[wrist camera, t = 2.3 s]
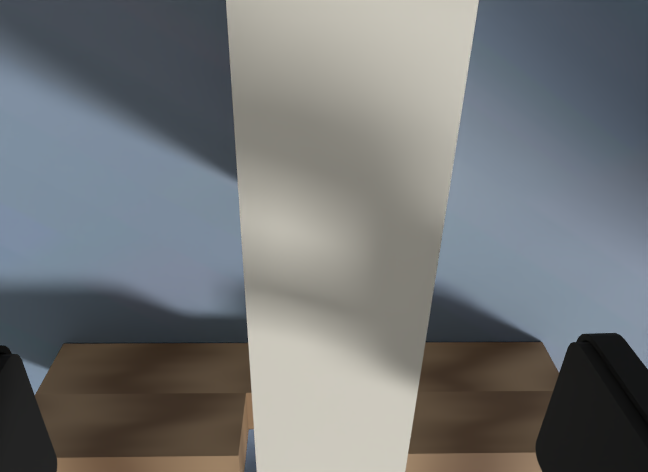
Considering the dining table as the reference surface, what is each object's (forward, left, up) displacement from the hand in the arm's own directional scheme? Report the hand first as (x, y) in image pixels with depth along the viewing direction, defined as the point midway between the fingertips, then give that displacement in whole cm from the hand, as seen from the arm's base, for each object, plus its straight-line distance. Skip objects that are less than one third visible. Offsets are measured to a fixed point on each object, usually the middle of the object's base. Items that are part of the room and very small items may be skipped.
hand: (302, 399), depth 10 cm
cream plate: (-3, -4, -12) cm, 13 cm away
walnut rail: (+5, +9, -12) cm, 16 cm away
